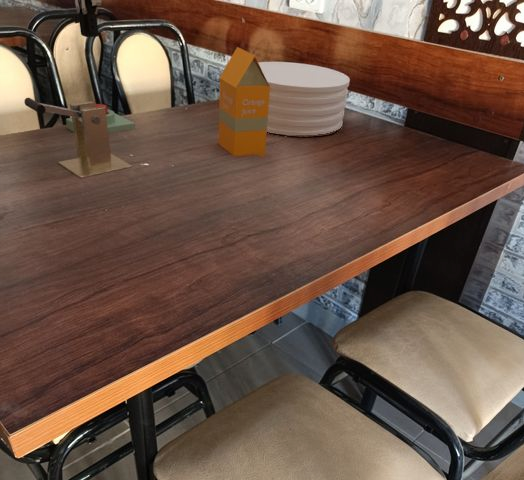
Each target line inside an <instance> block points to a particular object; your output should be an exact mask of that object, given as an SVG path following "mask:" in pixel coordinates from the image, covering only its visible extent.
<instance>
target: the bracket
mask: <svg viewBox="0 0 524 480" xmlns="http://www.w3.org/2000/svg"><path fill="white" fill-rule="evenodd" d="M95 104H96V103H95V101H92V100H90V101H81V102H74V103H69V109H72V110H77V111H79V109H80V107H85V108H88V109H81V117H82V122H81V121H79V120H78V117H73V116H71V118H72V121H73V128H74V132H73V133H74V140H75V146H76V152H77V153H76V154H77V158H72V159H66V160H61V161H58V162H57V164H58V165H60V166H61V167H62V168H64V169H66V170H67V171H68V172H70V173H71V174H73V175H75V176H76V177H77V178H79V179H86V178H89V177H94V176H100V175H104V174H108V173H112V172H117V171H122V170H127V169H132V168H133V165H132V164H130V163H128V162H127V161H125V160H123V159H121V158H119V157H118V156H116V155H114V154H112V153H111V146H110V137H109V133H108V128H107V119H106V110H105V107H95Z"/></svg>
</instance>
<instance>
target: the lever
mask: <svg viewBox="0 0 524 480" xmlns="http://www.w3.org/2000/svg"><path fill="white" fill-rule="evenodd" d="M24 105H25V106H26V107H27V108H29V109H31V110H33V111H35V112H36V113H38V114H40V115H43V114H45V113H46V112H47V113H53V114H57V115H62V116H68V117H72V116H73V117H78V120H79V121H81V122H82V117H81V109H88V108H85V107H80V109H79V111H77V110H72V109H70V108H66V107H62V106H56V105H52V104H47V103H42V102H38V101H36V100H35V99H32V98H31V97H26V98H24Z"/></svg>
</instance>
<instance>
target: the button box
mask: <svg viewBox="0 0 524 480" xmlns="http://www.w3.org/2000/svg"><path fill="white" fill-rule="evenodd" d="M107 112H108V114H107V115H106V119H107V128H108V134H112V133H119V132H124V131H131V130H135V129H136V123H135V122H133V121H131V120H130V119H127V118H126V117H123V116H121V115H119V114H118V113H115V111H114V110H111V109H108V108H107ZM65 122H66V128H67V129H68V130H69V131H71V132H73V133H74V128H73V121H72V117H68V118H65Z"/></svg>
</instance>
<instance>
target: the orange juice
mask: <svg viewBox="0 0 524 480" xmlns="http://www.w3.org/2000/svg"><path fill="white" fill-rule="evenodd" d="M258 62H259V61H258V59H257V57H256V55H255V54H253V53H251V52H249V51H247V50H245V49H243V48H241V47H238V46H236V48H235V50H234V52H233V54H231V57H230V59H229V60H228V62H227V64H226V65H225V67H224V69H223V70H222V72H221V74H220V76H219V100H218V101H219V102H218V103H219V104H218V105H219V106H218V144H219V145H220V146H221V147H222V148H224V149H225V150H226V151H227V152H228V153H229V154H231V155H232V157H243V156H252V155H253V156H254V155H256V156H260V157H262V156H265V157H266V144H267V134H268V133H267V123H268V107H269V94H270V85H269V84H268V82H267V80H266V78H265V76H264V74H263V72H262V70H261V68H260V66H259V64H258Z"/></svg>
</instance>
